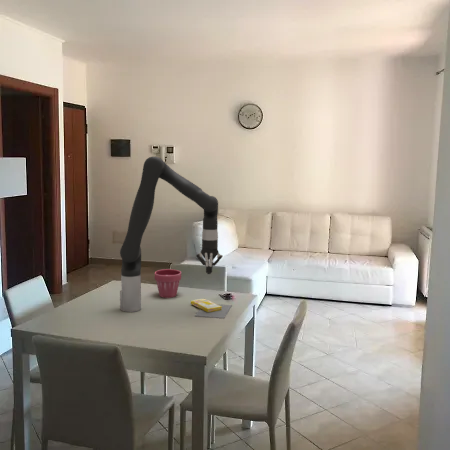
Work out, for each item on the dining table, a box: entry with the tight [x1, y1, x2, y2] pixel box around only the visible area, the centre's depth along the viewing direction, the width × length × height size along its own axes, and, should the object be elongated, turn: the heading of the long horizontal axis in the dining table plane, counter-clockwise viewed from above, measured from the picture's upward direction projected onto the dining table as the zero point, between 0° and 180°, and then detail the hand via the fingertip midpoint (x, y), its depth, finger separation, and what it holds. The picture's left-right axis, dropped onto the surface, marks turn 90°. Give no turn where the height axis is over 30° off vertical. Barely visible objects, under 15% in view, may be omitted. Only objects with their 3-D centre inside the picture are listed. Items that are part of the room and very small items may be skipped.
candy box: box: [190, 298, 222, 312], centre depth 249 cm, size 16×2×8 cm
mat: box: [194, 303, 233, 319], centre depth 245 cm, size 14×20×1 cm
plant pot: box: [154, 268, 182, 299], centre depth 269 cm, size 14×14×13 cm
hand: (209, 273), depth 242 cm, fingers closed
